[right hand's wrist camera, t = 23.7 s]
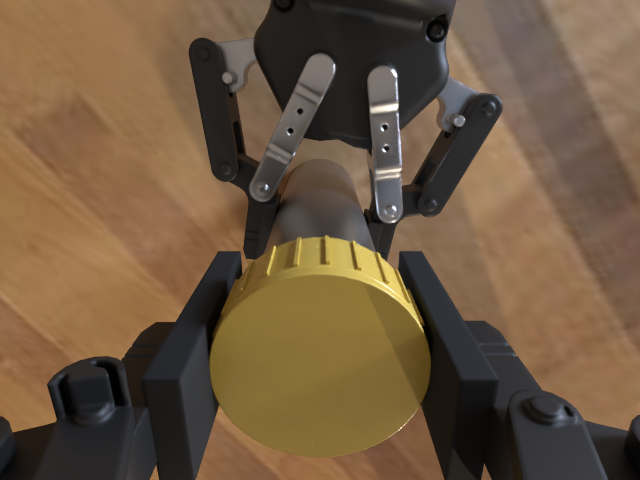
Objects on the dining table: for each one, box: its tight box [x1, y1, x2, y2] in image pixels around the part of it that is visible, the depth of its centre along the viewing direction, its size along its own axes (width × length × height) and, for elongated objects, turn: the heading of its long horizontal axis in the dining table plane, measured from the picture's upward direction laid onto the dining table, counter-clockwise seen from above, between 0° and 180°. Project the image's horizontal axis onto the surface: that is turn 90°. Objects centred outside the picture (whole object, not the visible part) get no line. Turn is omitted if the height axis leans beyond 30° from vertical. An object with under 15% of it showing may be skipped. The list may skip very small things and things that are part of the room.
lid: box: [209, 235, 431, 457], centre depth 11 cm, size 6×6×2 cm
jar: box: [264, 159, 376, 253], centre depth 19 cm, size 4×4×17 cm
